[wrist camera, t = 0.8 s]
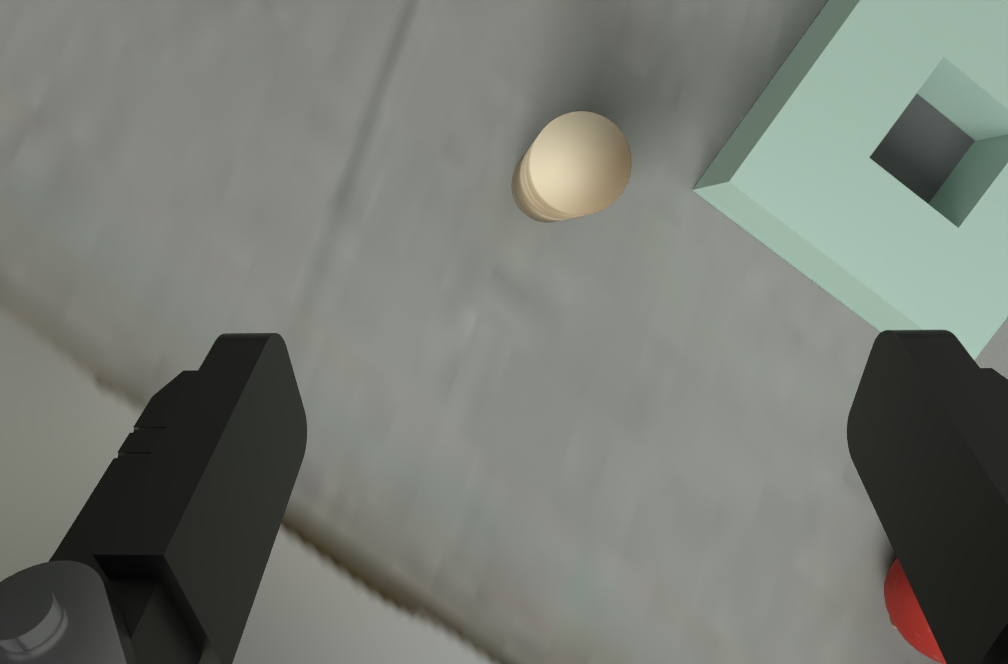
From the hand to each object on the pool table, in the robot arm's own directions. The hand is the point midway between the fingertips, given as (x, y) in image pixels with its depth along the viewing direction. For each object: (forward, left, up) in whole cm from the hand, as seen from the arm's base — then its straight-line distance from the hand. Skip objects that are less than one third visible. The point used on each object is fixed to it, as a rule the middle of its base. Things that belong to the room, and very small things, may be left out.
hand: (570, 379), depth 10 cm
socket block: (+13, +16, -26) cm, 33 cm away
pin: (0, +5, -26) cm, 27 cm away
